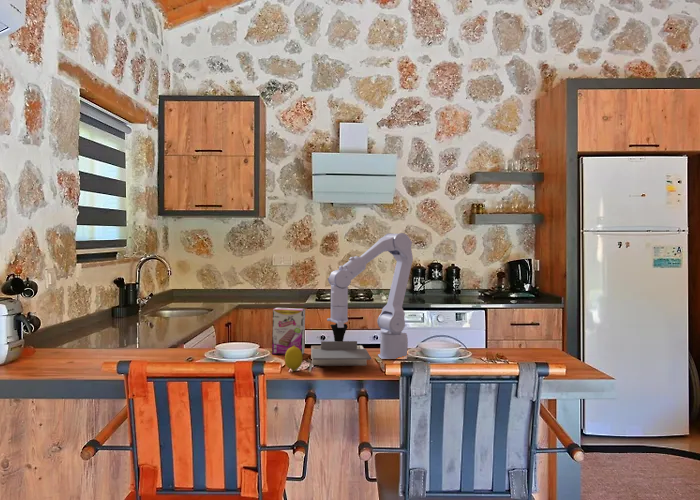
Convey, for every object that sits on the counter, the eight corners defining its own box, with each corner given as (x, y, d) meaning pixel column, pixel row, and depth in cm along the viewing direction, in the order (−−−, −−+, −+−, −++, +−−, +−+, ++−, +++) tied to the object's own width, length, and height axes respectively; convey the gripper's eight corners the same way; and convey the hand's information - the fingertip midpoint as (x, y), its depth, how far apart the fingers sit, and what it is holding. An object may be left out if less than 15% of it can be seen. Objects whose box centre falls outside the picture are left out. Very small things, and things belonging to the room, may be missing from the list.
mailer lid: (365, 350, 189) (365, 341, 189) (371, 359, 175) (371, 349, 175) (311, 350, 188) (312, 341, 188) (313, 359, 173) (313, 349, 173)
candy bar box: (271, 354, 202) (272, 309, 201) (274, 352, 207) (275, 307, 206) (302, 355, 201) (303, 309, 200) (304, 353, 206) (305, 308, 205)
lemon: (299, 373, 174) (300, 347, 174) (282, 372, 175) (282, 346, 175) (304, 369, 179) (304, 344, 179) (287, 368, 180) (287, 343, 180)
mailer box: (361, 356, 200) (361, 345, 200) (366, 365, 186) (366, 353, 186) (311, 357, 198) (311, 345, 198) (312, 365, 184) (312, 353, 184)
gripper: (326, 303, 197) (325, 342, 197) (328, 308, 182) (328, 350, 183) (346, 303, 198) (345, 341, 198) (350, 308, 183) (349, 349, 183)
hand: (338, 345), depth 190 cm, fingers closed
